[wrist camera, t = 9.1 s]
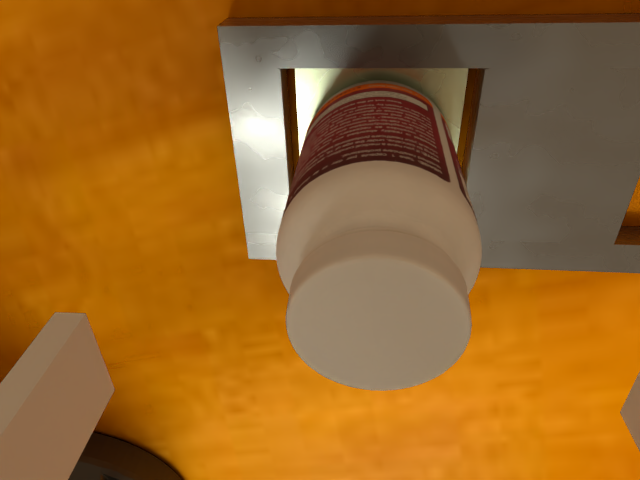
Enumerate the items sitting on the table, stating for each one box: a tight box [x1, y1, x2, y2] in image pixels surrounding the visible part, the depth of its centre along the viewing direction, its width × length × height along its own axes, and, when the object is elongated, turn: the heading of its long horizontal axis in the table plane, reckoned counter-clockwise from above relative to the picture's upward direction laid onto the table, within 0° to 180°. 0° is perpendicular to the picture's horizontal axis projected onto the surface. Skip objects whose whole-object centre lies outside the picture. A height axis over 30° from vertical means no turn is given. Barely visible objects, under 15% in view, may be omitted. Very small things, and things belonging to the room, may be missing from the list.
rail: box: [217, 13, 640, 273], centre depth 20 cm, size 26×10×2 cm, turn 92°
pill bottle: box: [276, 80, 482, 391], centre depth 17 cm, size 6×6×11 cm
